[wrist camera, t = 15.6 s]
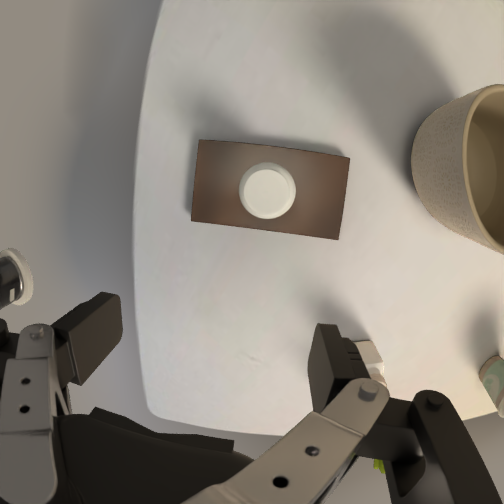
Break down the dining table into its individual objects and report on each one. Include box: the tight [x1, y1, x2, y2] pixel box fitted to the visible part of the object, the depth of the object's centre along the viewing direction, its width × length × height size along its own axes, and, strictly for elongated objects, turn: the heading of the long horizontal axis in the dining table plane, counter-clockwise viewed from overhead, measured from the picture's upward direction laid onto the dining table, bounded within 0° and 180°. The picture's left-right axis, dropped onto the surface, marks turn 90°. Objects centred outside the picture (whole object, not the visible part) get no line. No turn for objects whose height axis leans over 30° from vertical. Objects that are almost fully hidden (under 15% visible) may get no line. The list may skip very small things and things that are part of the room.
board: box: [191, 140, 350, 240], centre depth 35 cm, size 18×10×2 cm, turn 83°
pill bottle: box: [239, 162, 296, 219], centre depth 29 cm, size 5×5×10 cm
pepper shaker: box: [353, 341, 387, 388], centre depth 35 cm, size 4×4×10 cm
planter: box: [411, 84, 504, 254], centre depth 25 cm, size 17×17×15 cm
